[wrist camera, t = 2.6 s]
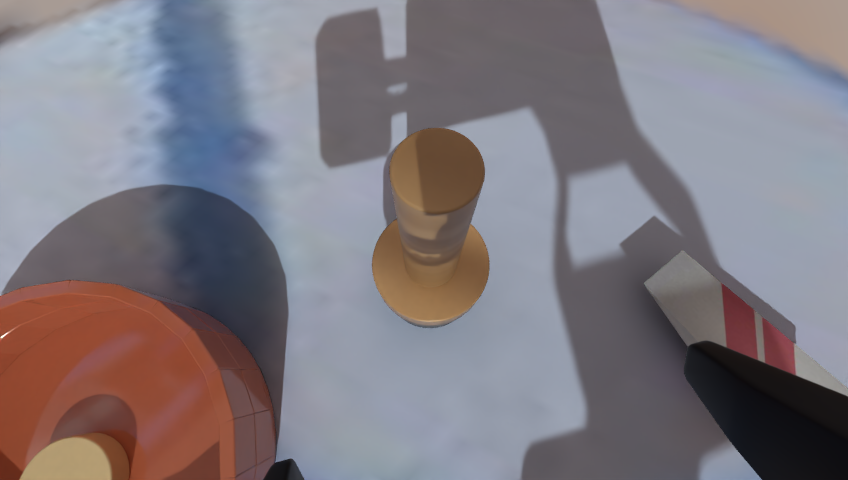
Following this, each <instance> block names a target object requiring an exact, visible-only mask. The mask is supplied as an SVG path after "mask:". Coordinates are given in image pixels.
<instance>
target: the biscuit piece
mask: <svg viewBox="0 0 848 480" xmlns="http://www.w3.org/2000/svg"><path fill="white" fill-rule="evenodd" d="M20 480H129V461H128V457H127V454H126V452H125V450H124V448H123V447H122V445H121V444H120V443H119V442H118V441H117V440H115V439H114V438H112V437H110V436H108V435H106V434H102V433H86V434H80V435H75V436H69V437H65V438H62V439H59V440H56V441H55V442H53V443H51V444H49V445H48V446H46V447H45V448H43V449H42V450H41V451H40V452H38V453H37V454H36V455H35V456H34V457H33V459H32V460H31V461H30V462H29V464H28V465H27V466H26V468H25V469H24V471H23V473H22V475H21V477H20Z"/></svg>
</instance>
